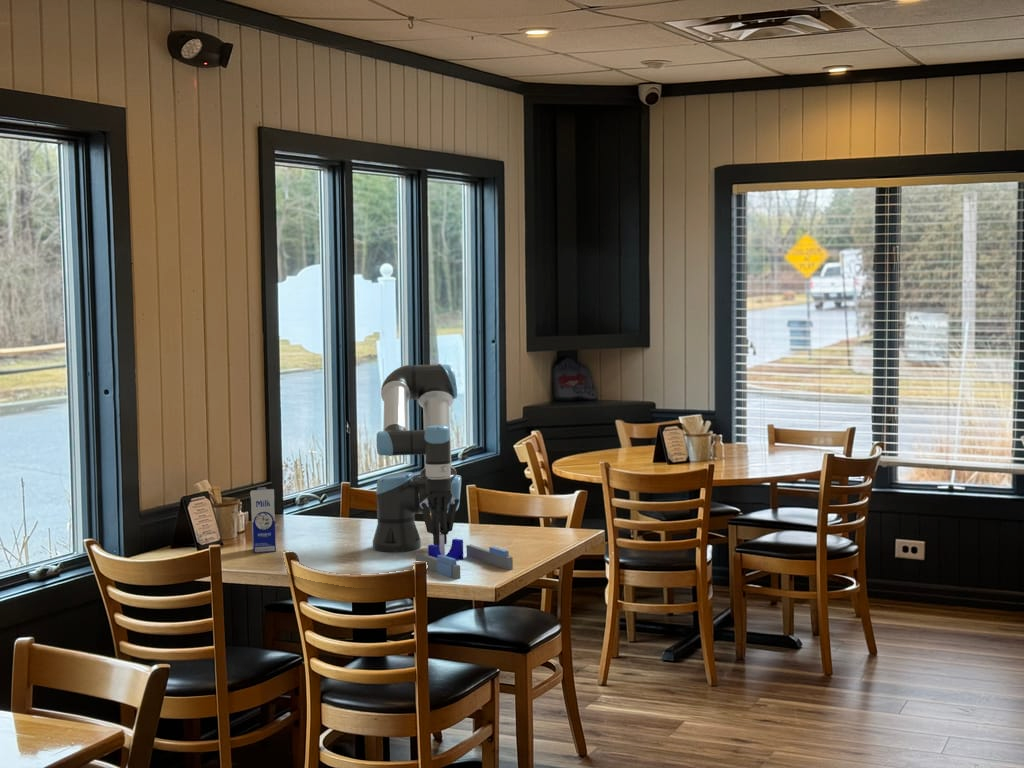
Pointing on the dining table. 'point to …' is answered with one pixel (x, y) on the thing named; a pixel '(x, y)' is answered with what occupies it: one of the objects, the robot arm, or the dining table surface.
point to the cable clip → (454, 552)
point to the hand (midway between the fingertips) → (440, 555)
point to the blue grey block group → (490, 556)
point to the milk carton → (263, 520)
